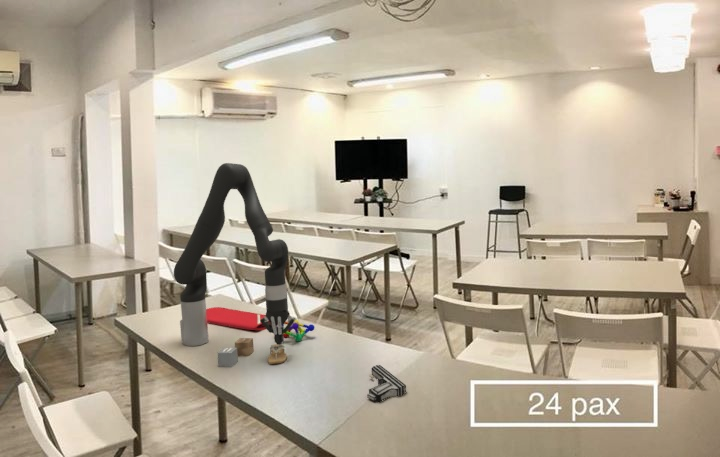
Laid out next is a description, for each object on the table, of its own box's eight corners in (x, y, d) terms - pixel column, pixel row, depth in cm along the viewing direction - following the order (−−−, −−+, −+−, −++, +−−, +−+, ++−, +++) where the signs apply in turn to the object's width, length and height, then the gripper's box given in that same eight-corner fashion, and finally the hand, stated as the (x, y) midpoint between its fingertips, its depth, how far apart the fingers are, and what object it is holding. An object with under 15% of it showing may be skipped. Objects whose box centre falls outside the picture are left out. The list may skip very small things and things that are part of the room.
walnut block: (235, 355, 187) (234, 342, 186) (240, 350, 192) (240, 337, 191) (248, 356, 186) (247, 342, 185) (253, 351, 191) (252, 337, 190)
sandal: (268, 367, 176) (267, 353, 175) (266, 351, 191) (265, 338, 190) (288, 364, 177) (287, 350, 177) (284, 349, 193) (283, 336, 192)
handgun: (371, 395, 145) (409, 386, 150) (346, 371, 163) (380, 364, 167) (372, 405, 146) (409, 396, 150) (346, 380, 163) (380, 372, 168)
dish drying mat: (216, 311, 246) (216, 304, 245) (281, 323, 224) (281, 315, 223) (189, 320, 233) (189, 312, 232) (255, 334, 211) (255, 325, 210)
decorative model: (298, 320, 213) (318, 318, 201) (297, 342, 211) (317, 341, 199) (270, 319, 205) (289, 317, 193) (269, 341, 203) (288, 340, 191)
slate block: (218, 366, 177) (217, 352, 176) (224, 361, 182) (223, 346, 181) (232, 367, 176) (231, 352, 176) (238, 361, 181) (237, 347, 181)
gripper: (254, 299, 179) (258, 347, 181) (291, 299, 177) (294, 347, 179) (262, 293, 186) (265, 339, 189) (297, 293, 184) (300, 340, 186)
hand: (279, 343), depth 184 cm, fingers closed
